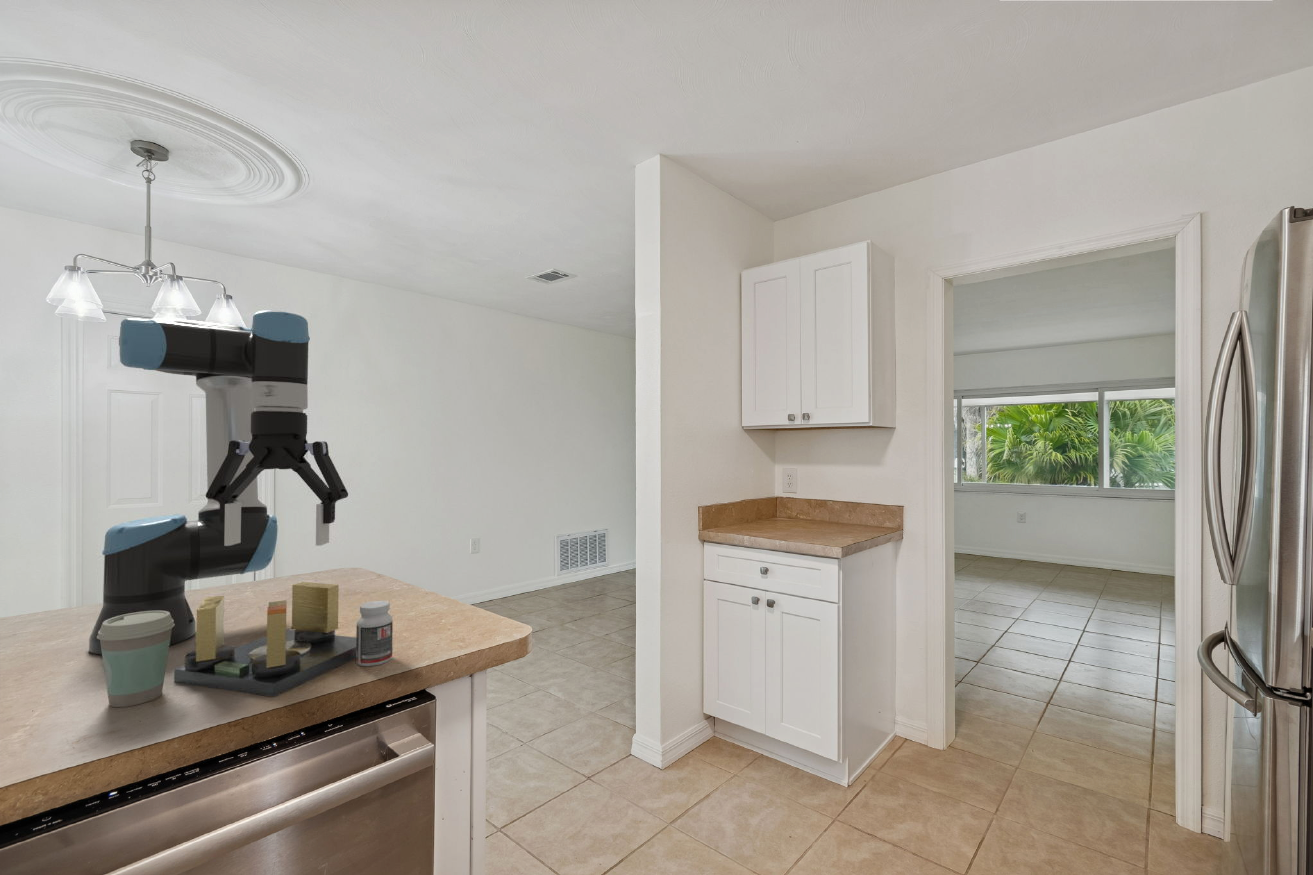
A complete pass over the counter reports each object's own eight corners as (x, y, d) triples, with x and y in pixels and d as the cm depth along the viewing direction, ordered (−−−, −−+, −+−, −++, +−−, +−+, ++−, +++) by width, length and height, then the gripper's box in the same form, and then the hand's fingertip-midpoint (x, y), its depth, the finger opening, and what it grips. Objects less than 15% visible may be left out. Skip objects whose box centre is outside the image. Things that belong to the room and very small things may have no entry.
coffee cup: (129, 687, 89) (130, 609, 89) (187, 685, 89) (188, 608, 90) (78, 713, 80) (79, 627, 80) (143, 711, 81) (144, 626, 81)
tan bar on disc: (253, 666, 92) (254, 600, 92) (300, 658, 96) (300, 594, 96) (250, 683, 85) (251, 612, 86) (300, 674, 89) (301, 606, 89)
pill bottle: (399, 658, 101) (400, 602, 101) (371, 669, 96) (372, 610, 96) (376, 652, 104) (377, 598, 104) (348, 663, 99) (349, 606, 99)
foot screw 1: (190, 659, 95) (191, 599, 95) (237, 652, 98) (238, 594, 98) (179, 676, 88) (180, 611, 88) (230, 668, 91) (231, 606, 91)
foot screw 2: (281, 643, 103) (282, 587, 103) (312, 631, 109) (312, 579, 109) (317, 647, 100) (318, 590, 101) (346, 635, 107) (347, 582, 107)
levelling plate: (174, 681, 91) (174, 661, 91) (285, 639, 110) (286, 623, 110) (273, 697, 86) (273, 675, 86) (372, 650, 105) (372, 632, 105)
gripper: (178, 408, 86) (176, 548, 86) (350, 410, 88) (348, 548, 88) (212, 410, 94) (211, 539, 94) (370, 413, 96) (369, 539, 96)
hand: (277, 544), depth 91 cm, fingers open, 13 cm apart
